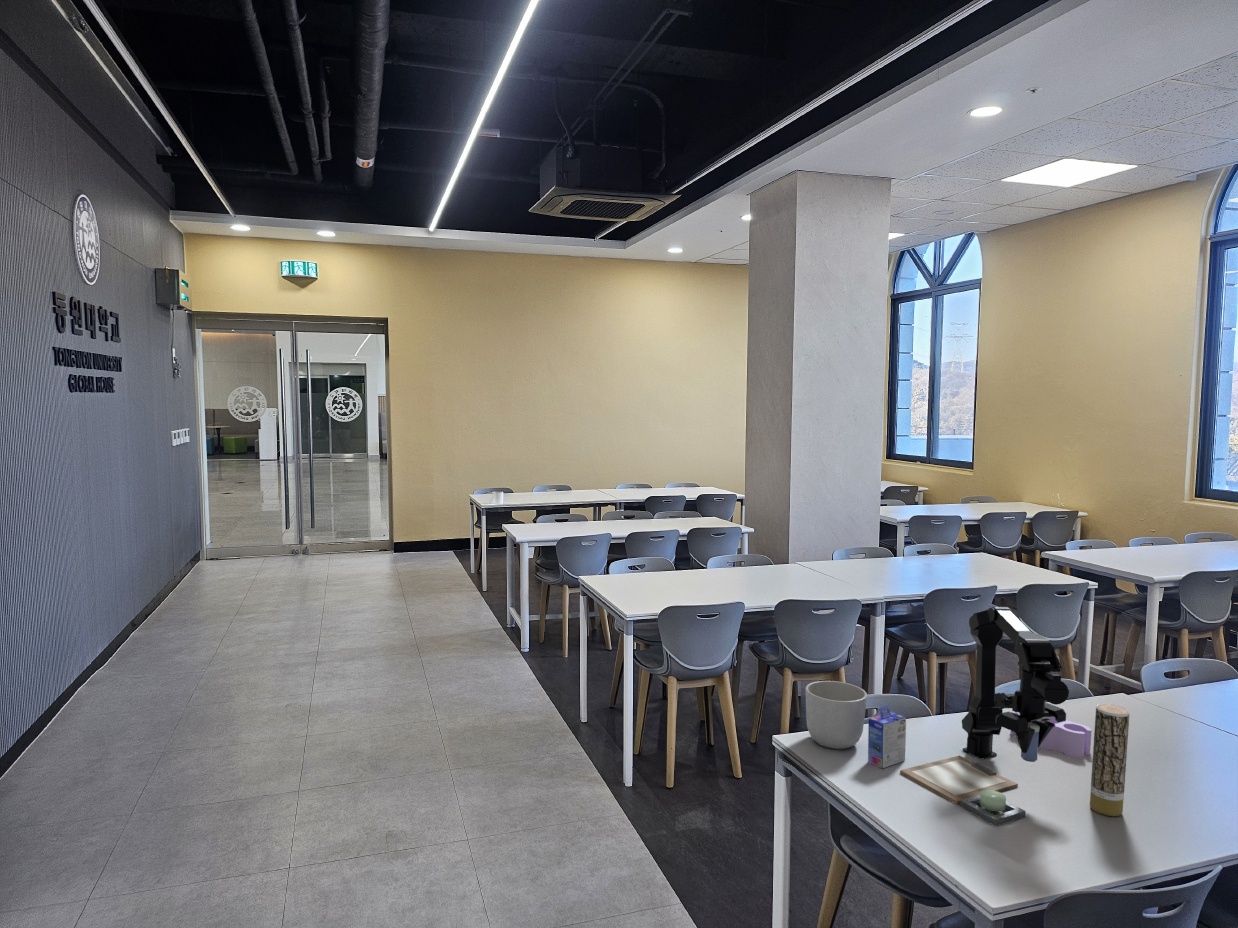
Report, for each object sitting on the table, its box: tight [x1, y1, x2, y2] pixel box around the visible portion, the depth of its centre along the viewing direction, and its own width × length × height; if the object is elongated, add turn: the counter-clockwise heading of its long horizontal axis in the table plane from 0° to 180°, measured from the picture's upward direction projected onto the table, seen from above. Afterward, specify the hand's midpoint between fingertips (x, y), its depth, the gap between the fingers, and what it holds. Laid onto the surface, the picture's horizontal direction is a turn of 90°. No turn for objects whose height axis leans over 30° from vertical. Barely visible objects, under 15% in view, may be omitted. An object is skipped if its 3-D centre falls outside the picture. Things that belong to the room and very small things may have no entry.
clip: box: [1010, 710, 1093, 758], centre depth 230 cm, size 20×12×7 cm, turn 35°
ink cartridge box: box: [867, 705, 907, 769], centre depth 215 cm, size 10×6×14 cm, turn 124°
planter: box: [805, 680, 868, 750], centre depth 226 cm, size 17×17×15 cm
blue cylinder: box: [1020, 723, 1040, 763], centre depth 196 cm, size 4×4×9 cm
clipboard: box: [899, 755, 1019, 805], centre depth 205 cm, size 22×18×1 cm
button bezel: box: [959, 795, 1026, 827], centre depth 189 cm, size 10×10×2 cm
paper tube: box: [1089, 703, 1130, 817], centre depth 190 cm, size 7×7×25 cm
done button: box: [979, 790, 1007, 813], centre depth 189 cm, size 6×6×2 cm
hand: (1029, 750), depth 196 cm, fingers closed on blue cylinder, 4 cm apart
